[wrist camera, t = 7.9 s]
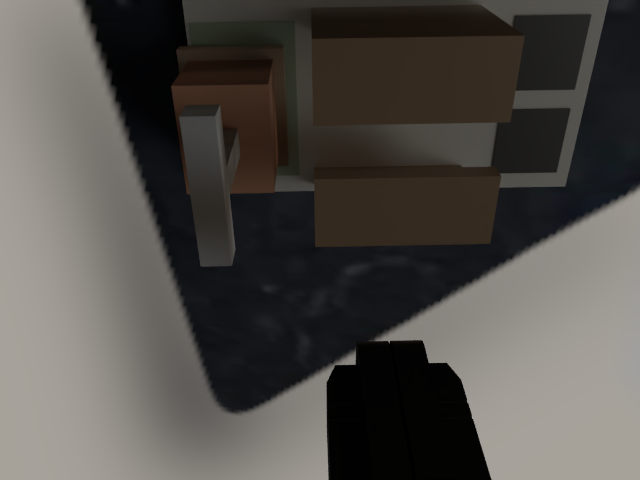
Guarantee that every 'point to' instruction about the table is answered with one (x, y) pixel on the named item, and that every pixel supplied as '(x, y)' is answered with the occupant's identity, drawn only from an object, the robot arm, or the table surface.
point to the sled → (228, 133)
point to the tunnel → (418, 105)
